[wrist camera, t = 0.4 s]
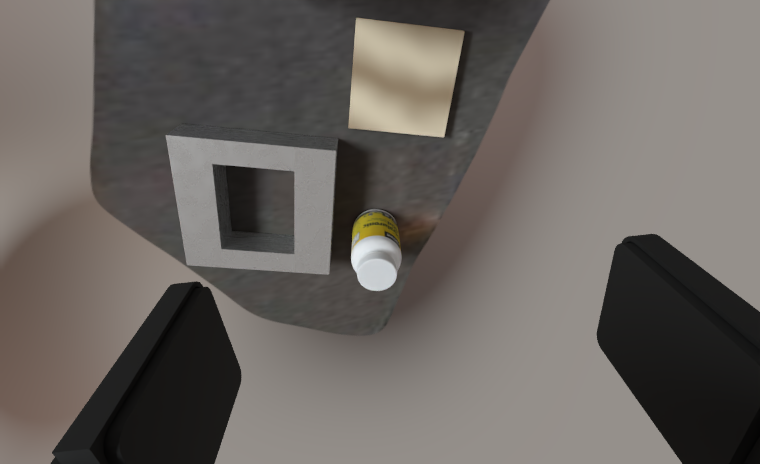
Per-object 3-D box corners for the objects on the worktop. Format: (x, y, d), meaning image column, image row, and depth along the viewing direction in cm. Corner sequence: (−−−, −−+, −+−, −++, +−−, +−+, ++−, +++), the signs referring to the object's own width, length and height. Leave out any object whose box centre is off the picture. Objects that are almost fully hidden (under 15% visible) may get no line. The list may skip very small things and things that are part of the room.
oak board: (356, 17, 37) (356, 17, 36) (462, 30, 38) (464, 31, 37) (348, 125, 42) (348, 128, 41) (442, 134, 43) (444, 137, 42)
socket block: (182, 123, 41) (165, 135, 38) (338, 138, 42) (336, 150, 39) (199, 245, 49) (186, 265, 45) (331, 255, 50) (329, 274, 47)
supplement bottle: (404, 215, 48) (413, 263, 39) (387, 251, 50) (391, 303, 42) (361, 201, 46) (361, 246, 38) (346, 238, 49) (342, 288, 40)
